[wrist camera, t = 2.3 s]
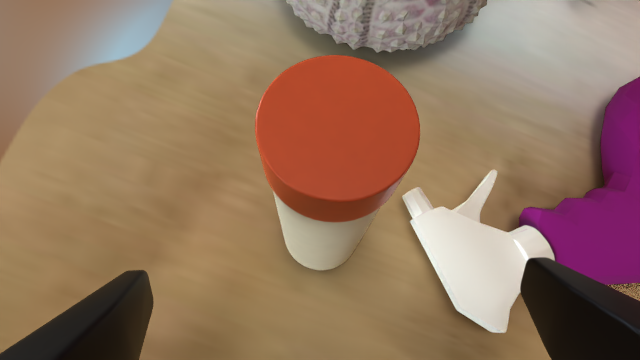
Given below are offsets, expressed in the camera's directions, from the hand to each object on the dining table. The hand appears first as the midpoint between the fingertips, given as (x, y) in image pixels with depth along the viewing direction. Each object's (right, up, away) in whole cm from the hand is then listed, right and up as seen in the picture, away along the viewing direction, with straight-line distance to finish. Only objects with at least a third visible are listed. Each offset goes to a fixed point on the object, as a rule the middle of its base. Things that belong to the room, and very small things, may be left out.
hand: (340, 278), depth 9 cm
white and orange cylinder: (0, -1, +11) cm, 11 cm away
